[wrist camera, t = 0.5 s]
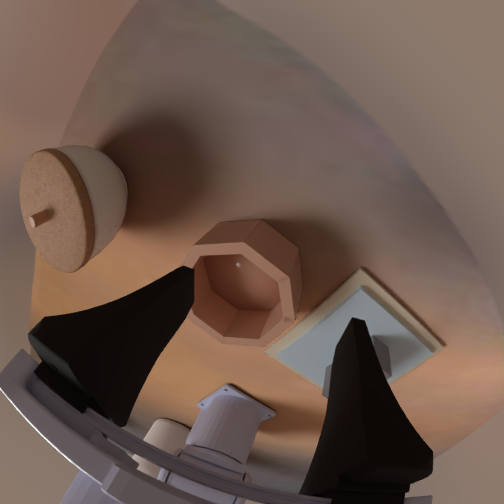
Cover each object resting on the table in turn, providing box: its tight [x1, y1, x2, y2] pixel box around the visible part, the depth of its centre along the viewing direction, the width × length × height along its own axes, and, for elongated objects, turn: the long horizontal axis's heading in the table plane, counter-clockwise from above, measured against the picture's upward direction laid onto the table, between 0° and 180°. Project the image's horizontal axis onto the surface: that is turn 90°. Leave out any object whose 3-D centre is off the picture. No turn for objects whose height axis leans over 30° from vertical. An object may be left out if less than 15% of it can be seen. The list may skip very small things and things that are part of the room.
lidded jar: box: [20, 145, 128, 273], centre depth 20 cm, size 11×11×9 cm
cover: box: [277, 285, 433, 398], centre depth 22 cm, size 11×11×4 cm
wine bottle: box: [132, 419, 191, 479], centre depth 31 cm, size 10×10×30 cm
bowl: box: [180, 219, 303, 347], centre depth 22 cm, size 9×9×4 cm
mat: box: [265, 267, 444, 389], centre depth 24 cm, size 13×13×1 cm
